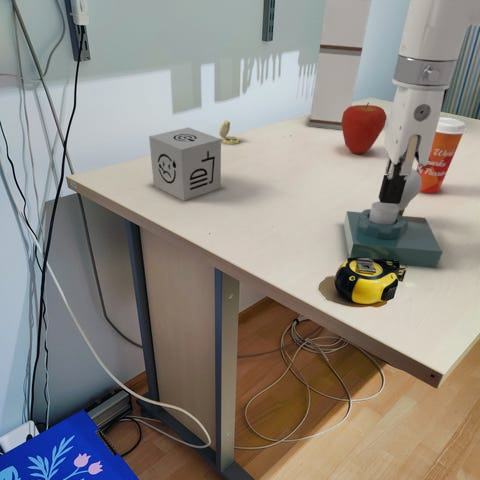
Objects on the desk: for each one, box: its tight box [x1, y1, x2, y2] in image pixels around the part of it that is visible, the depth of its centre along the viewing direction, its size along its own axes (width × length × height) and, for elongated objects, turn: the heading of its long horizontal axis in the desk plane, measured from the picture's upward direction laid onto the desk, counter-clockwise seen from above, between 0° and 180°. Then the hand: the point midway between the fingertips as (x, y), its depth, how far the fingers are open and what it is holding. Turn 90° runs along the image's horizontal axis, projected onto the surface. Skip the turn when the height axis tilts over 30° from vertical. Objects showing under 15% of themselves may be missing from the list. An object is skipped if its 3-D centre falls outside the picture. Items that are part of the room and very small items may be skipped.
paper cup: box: [415, 116, 467, 195], centre depth 90 cm, size 8×8×14 cm
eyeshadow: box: [218, 120, 240, 145], centre depth 113 cm, size 4×5×5 cm
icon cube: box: [148, 127, 222, 202], centre depth 86 cm, size 10×10×10 cm
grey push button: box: [369, 201, 399, 225], centre depth 70 cm, size 4×4×2 cm
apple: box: [342, 102, 387, 155], centre depth 108 cm, size 11×11×12 cm
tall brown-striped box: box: [308, 0, 373, 131], centre depth 121 cm, size 11×11×35 cm
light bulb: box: [395, 168, 422, 216], centre depth 78 cm, size 6×6×10 cm
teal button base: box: [343, 208, 443, 268], centre depth 72 cm, size 14×12×5 cm
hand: (388, 201), depth 69 cm, fingers closed
